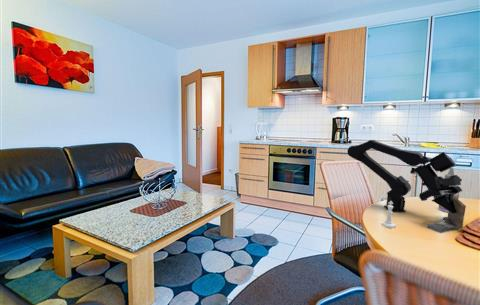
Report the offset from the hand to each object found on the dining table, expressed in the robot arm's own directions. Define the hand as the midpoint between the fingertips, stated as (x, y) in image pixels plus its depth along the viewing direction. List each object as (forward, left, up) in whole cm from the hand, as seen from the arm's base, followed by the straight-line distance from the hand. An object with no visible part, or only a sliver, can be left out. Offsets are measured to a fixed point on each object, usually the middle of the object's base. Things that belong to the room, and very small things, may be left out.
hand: (454, 212), depth 98 cm
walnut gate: (+2, +1, -4) cm, 5 cm away
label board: (-2, +2, -6) cm, 6 cm away
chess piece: (-25, +1, -6) cm, 26 cm away
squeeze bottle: (+24, +31, -6) cm, 39 cm away
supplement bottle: (+14, +19, -6) cm, 24 cm away
